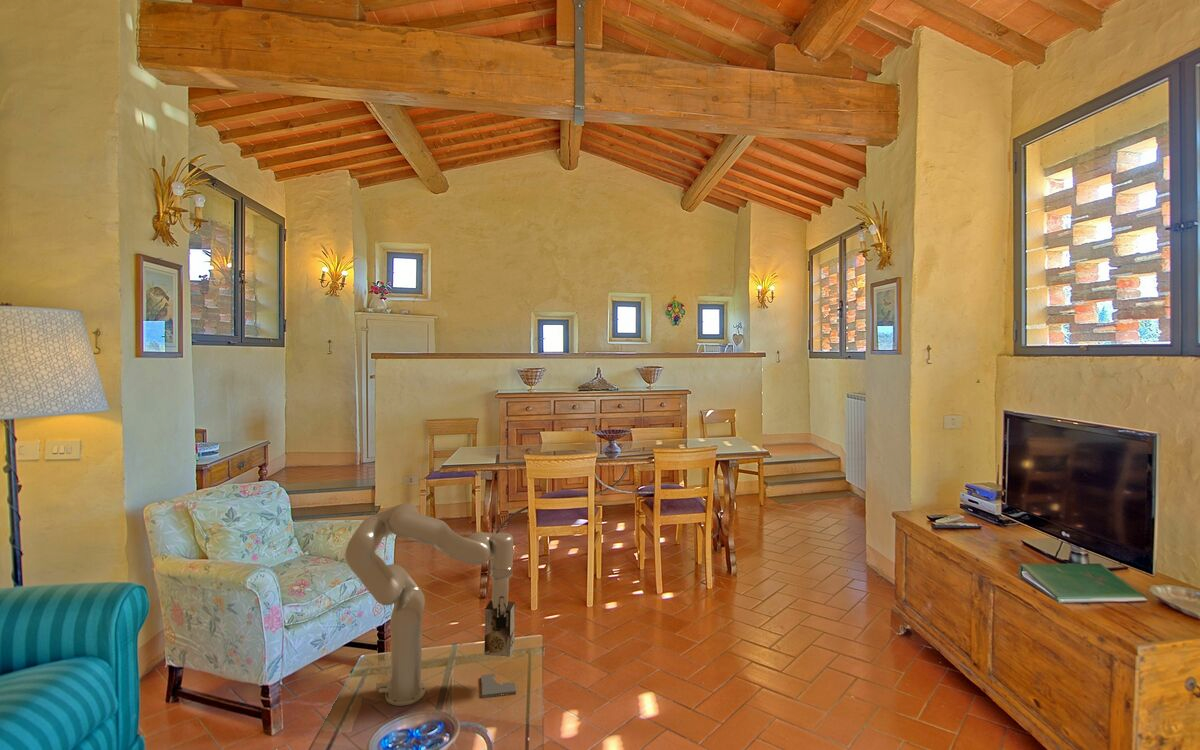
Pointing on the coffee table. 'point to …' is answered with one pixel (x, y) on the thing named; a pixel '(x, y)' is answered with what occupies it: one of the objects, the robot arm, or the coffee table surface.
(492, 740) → the coffee table surface
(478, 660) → the coffee table surface
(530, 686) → the coffee table surface
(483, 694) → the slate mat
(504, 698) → the coffee table surface
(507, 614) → the coffee box
